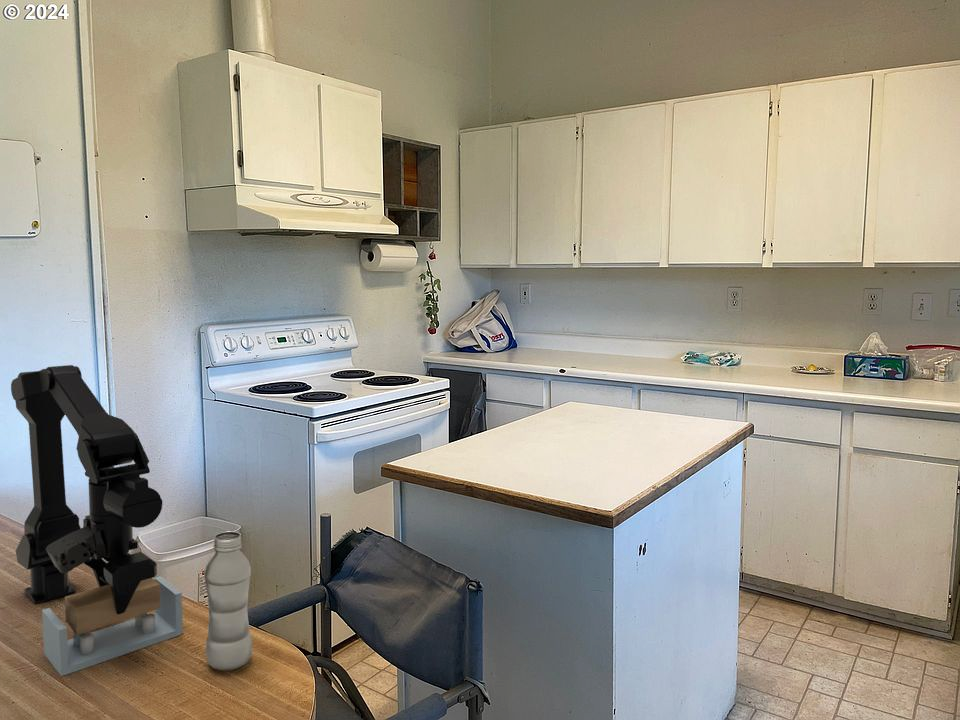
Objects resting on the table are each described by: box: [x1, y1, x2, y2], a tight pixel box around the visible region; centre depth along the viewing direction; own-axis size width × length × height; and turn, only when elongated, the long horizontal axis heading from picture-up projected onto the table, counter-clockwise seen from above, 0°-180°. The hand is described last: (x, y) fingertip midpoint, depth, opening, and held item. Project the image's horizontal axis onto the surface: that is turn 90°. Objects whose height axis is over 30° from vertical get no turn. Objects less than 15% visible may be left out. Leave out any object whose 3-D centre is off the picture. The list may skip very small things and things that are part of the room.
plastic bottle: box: [203, 530, 253, 672], centre depth 106 cm, size 6×7×20 cm
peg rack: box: [41, 575, 184, 677], centre depth 111 cm, size 8×18×7 cm, turn 136°
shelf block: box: [64, 578, 160, 634], centre depth 111 cm, size 5×12×4 cm, turn 136°
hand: (114, 607), depth 111 cm, fingers closed on shelf block, 5 cm apart
